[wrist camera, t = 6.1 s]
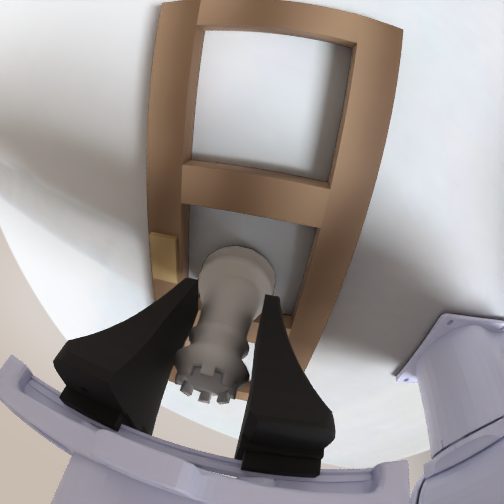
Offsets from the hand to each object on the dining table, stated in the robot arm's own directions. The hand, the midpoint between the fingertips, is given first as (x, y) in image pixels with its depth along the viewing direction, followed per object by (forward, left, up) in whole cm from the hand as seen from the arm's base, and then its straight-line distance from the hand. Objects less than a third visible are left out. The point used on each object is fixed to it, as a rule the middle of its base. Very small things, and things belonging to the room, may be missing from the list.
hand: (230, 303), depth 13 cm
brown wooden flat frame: (0, 0, -4) cm, 4 cm away
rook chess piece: (0, +1, -4) cm, 4 cm away
